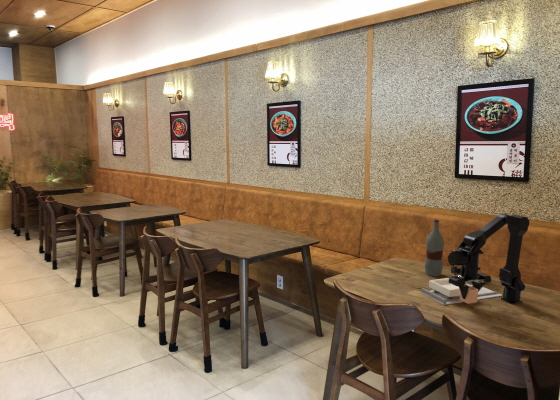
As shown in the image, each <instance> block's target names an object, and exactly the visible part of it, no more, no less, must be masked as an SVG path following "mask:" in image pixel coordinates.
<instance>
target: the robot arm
mask: <svg viewBox="0 0 560 400" xmlns="http://www.w3.org/2000/svg"><path fill="white" fill-rule="evenodd" d="M506 225H507V230H508V232H509V240H508V246H507V254H506V262H505V265H504V266H503V267H500V268H499V274H498V277H499V281H500V285H501V286H504V287H503V294H502V295H503V296H502V297H500V300H502V301H505V302H507V303H510V304H511V305H514V304H519V303H523V300H521V294H522V291H525V289H526V284H525V283H524V282H523V281H522V273H521V271H520V268H519V263H520V256H521V250H522V244H523V237H524V235H525V234H526V233H527V232H528V231H529V230H528V229H529V227H530V219H529V218H528V217H527V216H524V215H520V214H519V215H518V214H514V213H513V214H511V215H509V214H507V213H502V212H501V213H497V215H496V217H493V219H492V220H490V221H489V222H487V223H485V224H484V226H482V227H480V229H478V230H475V231H472V232H469V233H468V234H466V235H464V237H463V239H462V240H461V242H460V244H459V245H458V247H457V249H451V252H450V253H449V254H448V256H447V261H448V264H449V265H450V266H451V267H450V273H451V274H454V276H449V277H448V278H449V283H450V284H453V285H455V286H458V287H459V289H460V291H461V295H462V298H463V299H465V298H466V295H467V292H468V288H469V286H468V285H467V284H468V283H469V282H470V283H471V285H472V287H474V288H477V289H478V292H479V291H480V289H481V288H482V287H484V286H485V285H486V284H488V283H492V277H491V275H489V274H486V273H484V272H479V271H480V270H481V267H480V266H479V263H480V255H483V254H485V253H484V252H483V250H482V248H483V247H484V246H485V245H486V243H487V240H489V238H490V237H491V236H493V235H494V234H495V233H497V232H498V231H499V230H501V229H502V228H503V227H505V226H506ZM465 247H468V248H471V249H468V248H465ZM458 266H459V267H458ZM458 275H460V276H461V277H459V276H458Z"/></svg>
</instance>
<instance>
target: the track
mask: <svg viewBox="0 0 560 400" xmlns="http://www.w3.org/2000/svg"><path fill="white" fill-rule="evenodd" d="M420 290H421V292H420V293H421V294H423V295H425V296H426V297H428V298H430V299H432V300H434V301H436V302H438V303H440V304H441V305H442V306H447V305H452V304H459V303H465V302H464V301H462V300H460V296H453V298H452V299H450V298H448V296H446V295H444V294H442V293H440V292H438V291H437V292H436V291H434V290H433V289H431V290H428V289H426V288H425V287H424V288H423V287H422V288H421V289H420ZM499 296H500V297H503V294H500V293H498V291H493V290H491V289H489V288H487V287H484V286H483V287H482V288H481V289H480V291H479V292H478V300H477V301H479V300H485V299H492V298H498V297H499Z"/></svg>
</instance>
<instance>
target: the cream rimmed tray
mask: <svg viewBox="0 0 560 400" xmlns="http://www.w3.org/2000/svg"><path fill="white" fill-rule="evenodd" d="M449 278H450V277H445V278H439V279H431V280H429V281H428V287H429V288H431V290H434V291H436V292H437V291H438V292H440V293H442V294H444V295H446V296H448V298H450V299H452V298H453V296H460V289H459V287H458V286H455V285H453V284H450V283H449ZM467 285H468V286H472V284H469V283H467Z"/></svg>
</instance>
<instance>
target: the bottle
mask: <svg viewBox="0 0 560 400" xmlns="http://www.w3.org/2000/svg"><path fill="white" fill-rule="evenodd" d="M439 223H440V219H436V218H435V219H434V220H433V228H432V230H431V231H430V233H429V234H428V236H427V237H426V242H425V248H426V250H425V251H426V252H425V253H426V257H425V263H424V272H425V275H428V276H431V277H440V276H441V275H442V271H443V267H444V266H443V253H444V248H445V241H444V237H443V235H442V233H441V232H440V229H439V226H440V225H439Z"/></svg>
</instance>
